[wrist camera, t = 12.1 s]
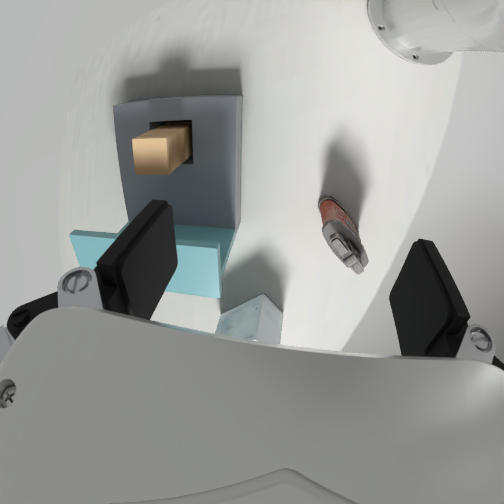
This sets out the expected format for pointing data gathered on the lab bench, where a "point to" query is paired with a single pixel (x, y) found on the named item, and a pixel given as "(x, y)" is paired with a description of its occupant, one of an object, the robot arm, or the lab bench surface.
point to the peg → (162, 148)
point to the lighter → (342, 234)
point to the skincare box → (253, 321)
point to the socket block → (183, 187)
